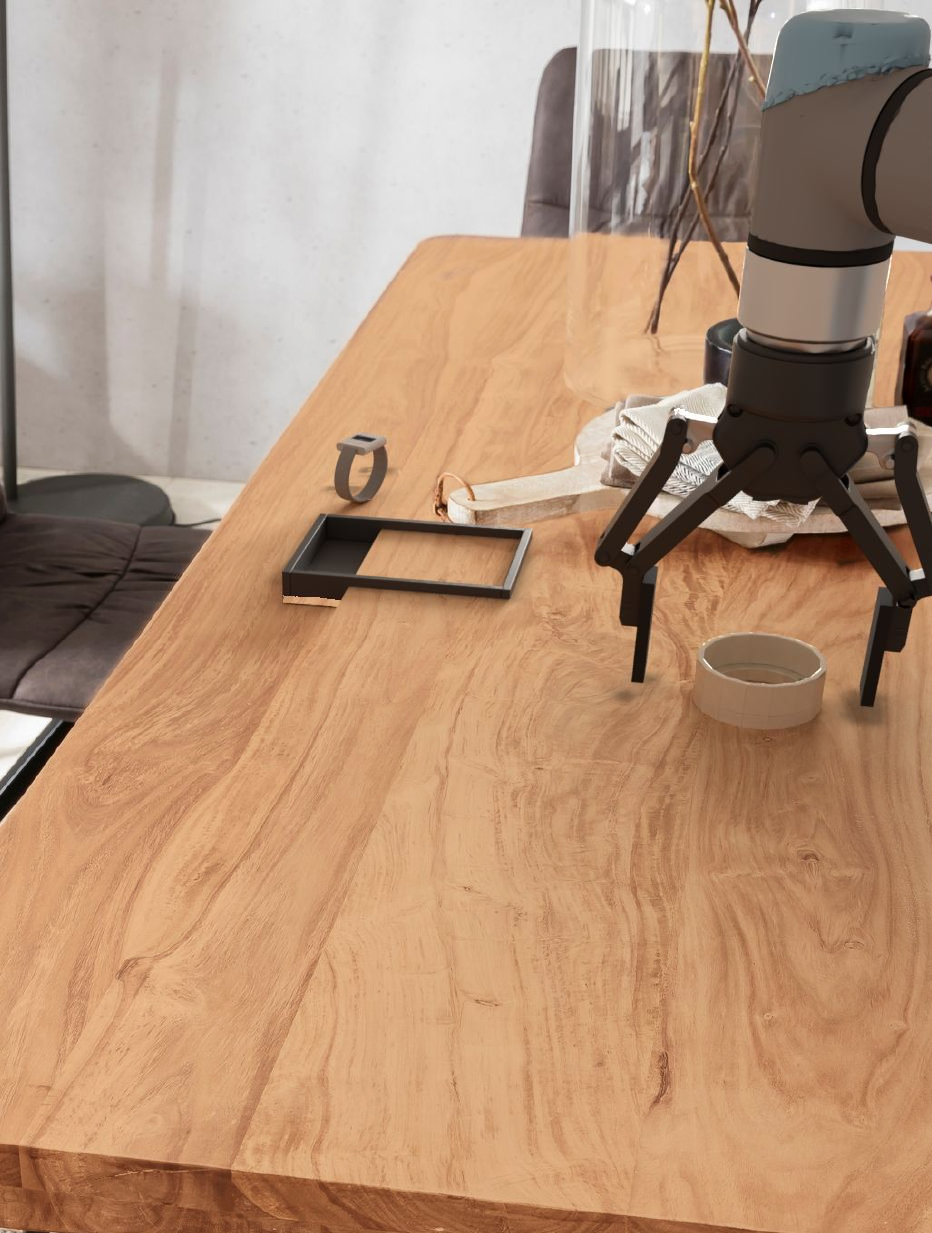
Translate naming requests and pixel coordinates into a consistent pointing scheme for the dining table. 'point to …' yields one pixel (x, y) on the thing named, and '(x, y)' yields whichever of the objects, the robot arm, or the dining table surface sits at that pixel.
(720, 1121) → the dining table surface
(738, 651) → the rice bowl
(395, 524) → the tray frame
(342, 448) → the wristwatch
